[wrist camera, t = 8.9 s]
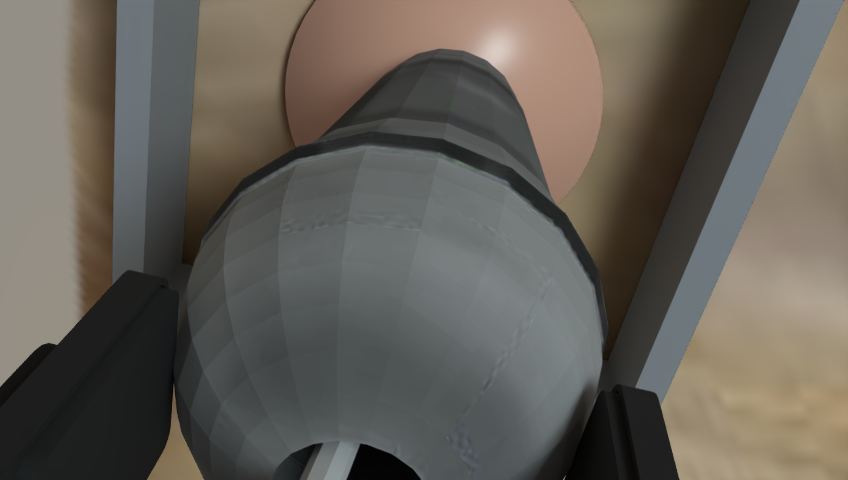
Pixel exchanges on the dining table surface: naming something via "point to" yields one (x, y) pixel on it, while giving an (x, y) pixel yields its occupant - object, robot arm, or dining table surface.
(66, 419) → the robot arm
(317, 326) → the beverage cup
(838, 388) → the dining table surface
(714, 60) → the dining table surface
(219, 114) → the dining table surface
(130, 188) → the grey square frame
